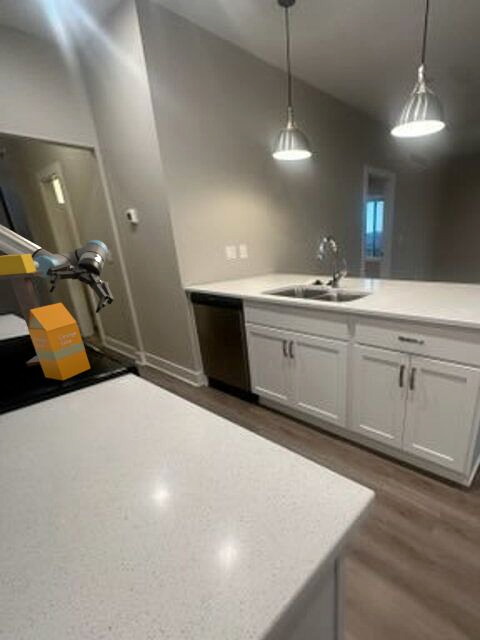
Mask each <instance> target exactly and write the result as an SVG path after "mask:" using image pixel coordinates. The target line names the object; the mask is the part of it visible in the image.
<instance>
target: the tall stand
mask: <svg viewBox="0 0 480 640" xmlns="http://www.w3.org/2000/svg"><path fill="white" fill-rule="evenodd" d="M42 274H43V271H42V270H39V271H33V272H30V273H23V274H9V275H0V280H10V282H11V283H10V284H11V285H12V289H13V291H14V293H15V297H16V299H17V303H18V305H19V307H20V311H21V313H22V316H23V318H24V321H25V324H26V327H27V328H28V326H29V317H30V310H31V309H35V308H39V307H41V305H40V303H39V299H38V297H37V294H36V290H35V288H34V284H33V282H32V279H31V278H35V277H39V275H42ZM25 365H26V367H34V366H41V364H40V361H39V358H38V356H37V355H35V356H33V357H32V358H31V359H29V360H28V361H26V362H25Z"/></svg>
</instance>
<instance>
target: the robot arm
mask: <svg viewBox="0 0 480 640" xmlns="http://www.w3.org/2000/svg"><path fill="white" fill-rule="evenodd" d="M0 251H2V252H3V253H5V254H6V255H18V254H31V256H32V259H33V261H36V262H38V264H39V267H38V268H37V269H36V271H39V270H42V271H43V274H42V275H39V276H38V277H40V278H42V279H47V280H48V279H49V284H52V285H51V288H50V289H49V293H50V294H53V292H54V290H55V288H56V287H57V285H58V283H59V281H60V280H71V279H72V280H78V281H79V282H82V283H84V284H85V285H87V286H89V287H90V289H92V290H93V291H94V293H95V294H96V296H97V297H98V298H99V301H98V304H97V306H96V310H95V314H99V312H100V311H101V310H102V308H105V307H106V306H107V305H112V303H114V300H115V298H114V296H113V293H112V291H111V288H110V286H109V281H108V280H107V279H106V280H102V279H101V278H100V276H101V274H102V271H103V267H104V265H105V263H106V260H107V258H108V254H109V248H108V246H107V245H106V244H105V243H104V242H102V241H101V240H98V239H91V240H90V241H87V243H86V244H85V246H82V247H79V248H76V249H73V250H69V251H66V252H61V253H51V252H50V251H48V250H46V249H44V248H43V247H41V246H39V245H37V244H36V243H34V242H32V241H30V240H29V239H27V238H25V237H23V236H21V235H19V234H18V233H17V232H14V231H13V230H11V229H9V228H8V227H5V226H4V225H3V224H0Z"/></svg>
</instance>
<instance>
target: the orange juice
mask: <svg viewBox="0 0 480 640" xmlns="http://www.w3.org/2000/svg"><path fill="white" fill-rule="evenodd" d="M27 331H28V334H29V336H30V339H31V342H32V345H33V347H34V350H35V353H36V356H38V358H39V361H40V364H41V365H40V367H41V369H42V372H43V374H44V377H45V378H46V379H52V380H53V379H54V380H59V381H65V380H67V379H70V378H72V377H74V376H77V375H79V374H81V373H83V372H86V371H88V370H91V365H90V362H89V358H88V355H87V353H86V348H85V345H84V341H83V338H82V335H81V332H80V330H79V326H78V322H77V321H76V319H75V318H74V317H73V316H72V314H71V313H70V311H69V310H68V308H66V306H65V305H64V303H62V302H57V303H53V304H48V305H43V306H40V307H39V308H35V309H31V310H30V317H29V326H28V327H27Z"/></svg>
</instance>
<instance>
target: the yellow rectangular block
mask: <svg viewBox="0 0 480 640" xmlns="http://www.w3.org/2000/svg"><path fill="white" fill-rule="evenodd" d="M38 267H39V264H38V262H36V261H33V259H32V256H31V254H18V255H9V254H5V255H0V275H9V274H23V273H30V272H33V271H36V269H37V268H38Z"/></svg>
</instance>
